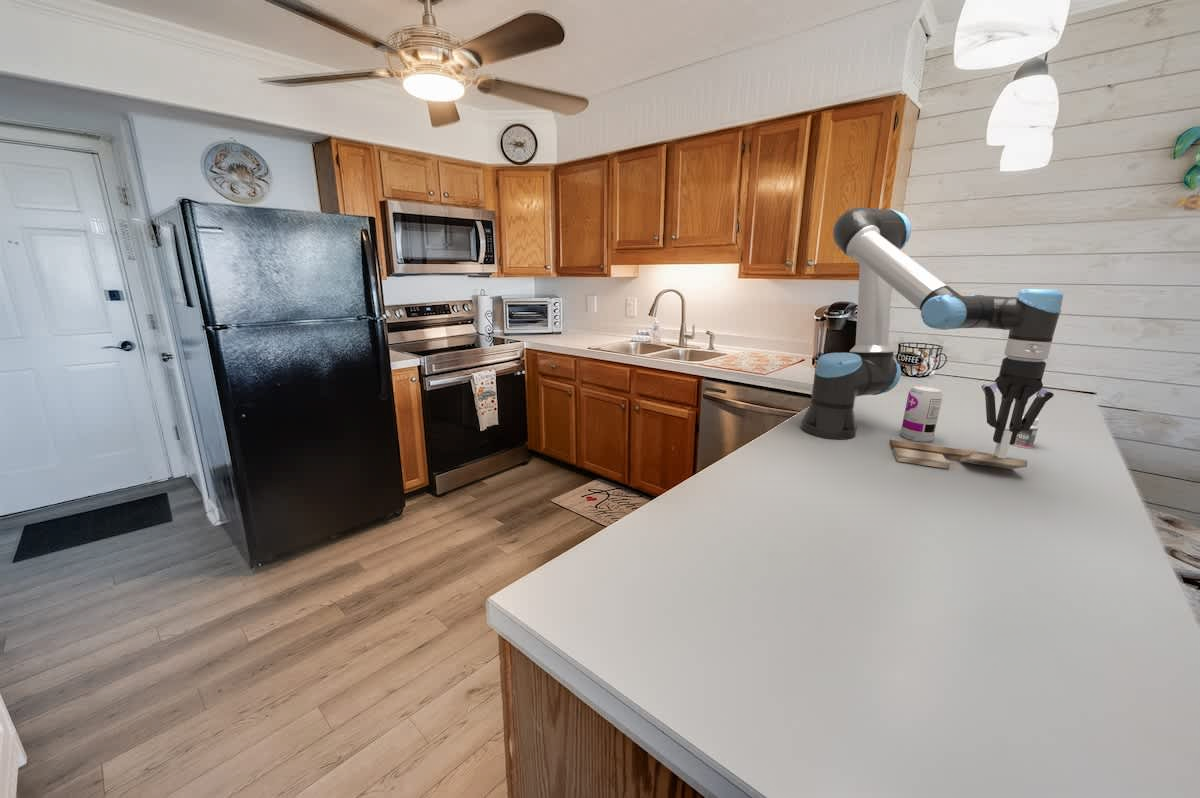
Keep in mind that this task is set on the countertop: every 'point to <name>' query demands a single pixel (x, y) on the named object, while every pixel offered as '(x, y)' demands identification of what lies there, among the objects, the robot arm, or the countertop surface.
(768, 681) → the countertop surface
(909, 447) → the laid board
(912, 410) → the supplement can
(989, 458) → the plank
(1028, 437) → the pill bottle
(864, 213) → the robot arm
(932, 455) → the plank
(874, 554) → the countertop surface
